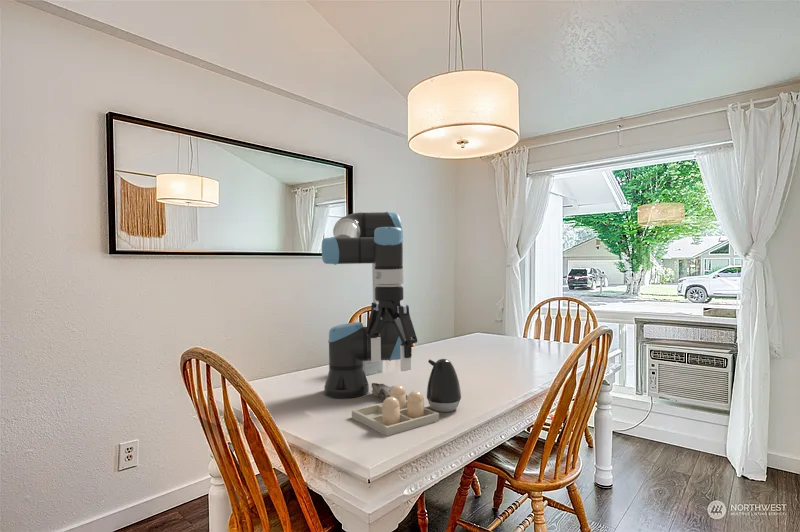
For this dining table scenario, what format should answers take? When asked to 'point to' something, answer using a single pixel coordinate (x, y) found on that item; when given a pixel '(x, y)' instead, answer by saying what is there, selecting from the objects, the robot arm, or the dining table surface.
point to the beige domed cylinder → (399, 395)
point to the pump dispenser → (443, 387)
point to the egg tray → (374, 420)
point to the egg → (390, 411)
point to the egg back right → (415, 405)
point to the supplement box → (372, 367)
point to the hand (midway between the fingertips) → (390, 365)
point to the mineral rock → (381, 391)
